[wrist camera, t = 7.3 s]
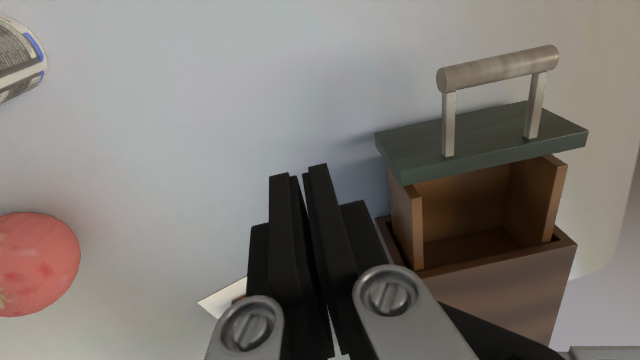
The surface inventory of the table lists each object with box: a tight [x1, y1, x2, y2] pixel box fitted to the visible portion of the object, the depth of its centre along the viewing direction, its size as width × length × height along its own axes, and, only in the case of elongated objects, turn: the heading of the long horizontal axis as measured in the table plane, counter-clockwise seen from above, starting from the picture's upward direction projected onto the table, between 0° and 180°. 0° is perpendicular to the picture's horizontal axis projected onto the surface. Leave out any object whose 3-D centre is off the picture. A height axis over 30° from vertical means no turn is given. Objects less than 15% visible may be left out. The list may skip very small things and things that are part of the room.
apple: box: [0, 212, 81, 317], centre depth 26 cm, size 7×7×8 cm
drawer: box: [375, 45, 589, 273], centre depth 26 cm, size 18×12×6 cm
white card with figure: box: [230, 293, 246, 306], centre depth 36 cm, size 4×3×2 cm
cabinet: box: [375, 215, 578, 347], centre depth 33 cm, size 14×14×8 cm
